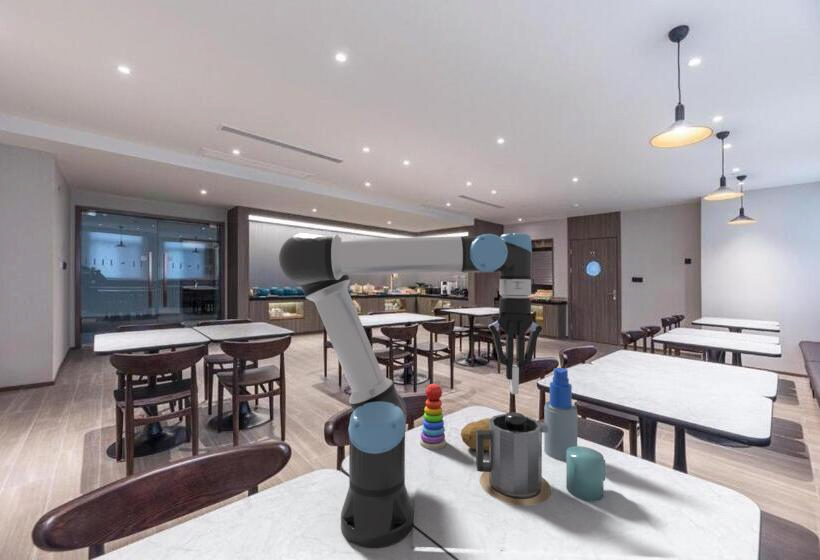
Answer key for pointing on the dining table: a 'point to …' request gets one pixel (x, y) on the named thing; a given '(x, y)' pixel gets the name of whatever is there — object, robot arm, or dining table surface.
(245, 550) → the dining table surface
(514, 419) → the plunger
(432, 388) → the stacking toy
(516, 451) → the carafe
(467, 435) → the potato
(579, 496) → the mug
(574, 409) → the spray bottle
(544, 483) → the trivet
